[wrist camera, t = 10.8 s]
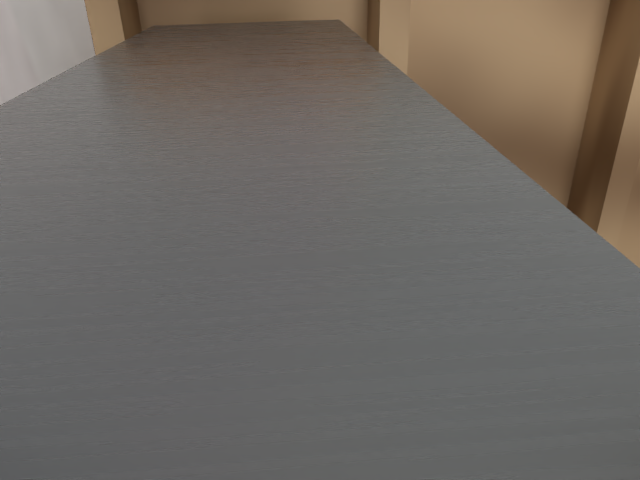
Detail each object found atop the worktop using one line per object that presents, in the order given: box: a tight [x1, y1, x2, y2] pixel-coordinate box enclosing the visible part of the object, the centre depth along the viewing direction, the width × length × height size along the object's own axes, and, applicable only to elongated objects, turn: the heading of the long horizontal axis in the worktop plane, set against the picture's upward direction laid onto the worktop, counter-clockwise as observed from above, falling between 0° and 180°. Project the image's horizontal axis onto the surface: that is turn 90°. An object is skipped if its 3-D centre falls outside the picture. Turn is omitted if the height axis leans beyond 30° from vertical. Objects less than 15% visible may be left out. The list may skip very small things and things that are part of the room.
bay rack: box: [84, 0, 640, 268], centre depth 17 cm, size 15×23×3 cm, turn 91°
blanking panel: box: [0, 19, 640, 480], centre depth 8 cm, size 10×4×12 cm, turn 2°
